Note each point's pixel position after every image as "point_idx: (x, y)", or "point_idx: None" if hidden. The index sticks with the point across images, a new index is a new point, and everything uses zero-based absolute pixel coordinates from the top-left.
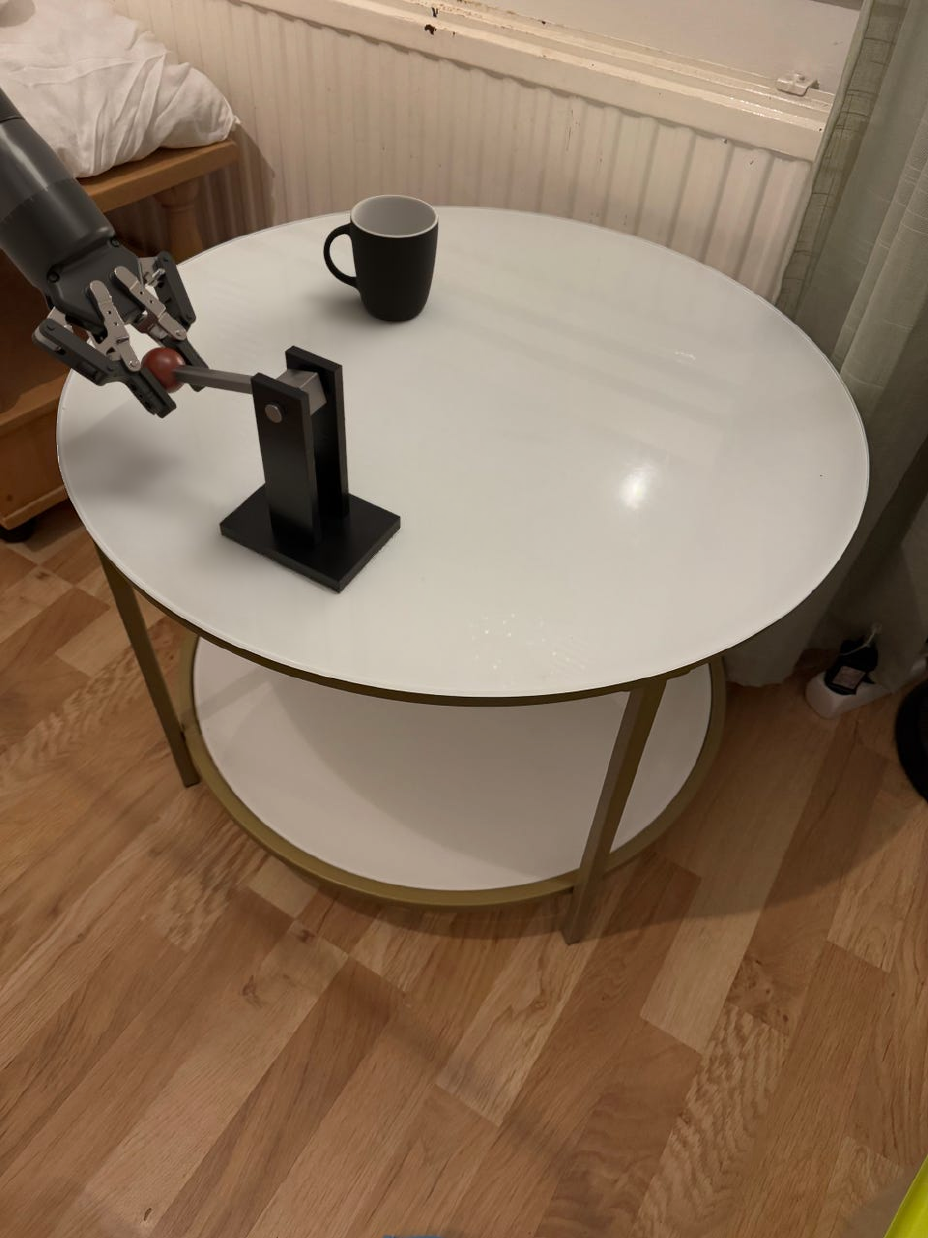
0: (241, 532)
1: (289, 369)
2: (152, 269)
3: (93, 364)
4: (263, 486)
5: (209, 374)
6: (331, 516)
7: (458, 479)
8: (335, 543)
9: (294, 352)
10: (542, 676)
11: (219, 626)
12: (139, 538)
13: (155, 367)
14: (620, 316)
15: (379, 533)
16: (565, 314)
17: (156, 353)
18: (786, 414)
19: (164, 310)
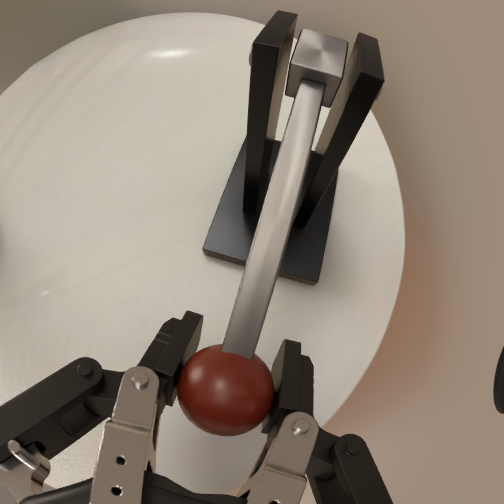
0: (321, 254)
1: (294, 60)
2: (20, 469)
3: (377, 469)
4: (246, 258)
5: (276, 247)
6: (268, 181)
7: (176, 120)
8: None
9: (276, 38)
10: None
11: (401, 242)
12: (343, 360)
13: (263, 392)
14: (17, 108)
15: (274, 142)
16: (8, 132)
17: (233, 404)
18: (108, 35)
19: (116, 423)
